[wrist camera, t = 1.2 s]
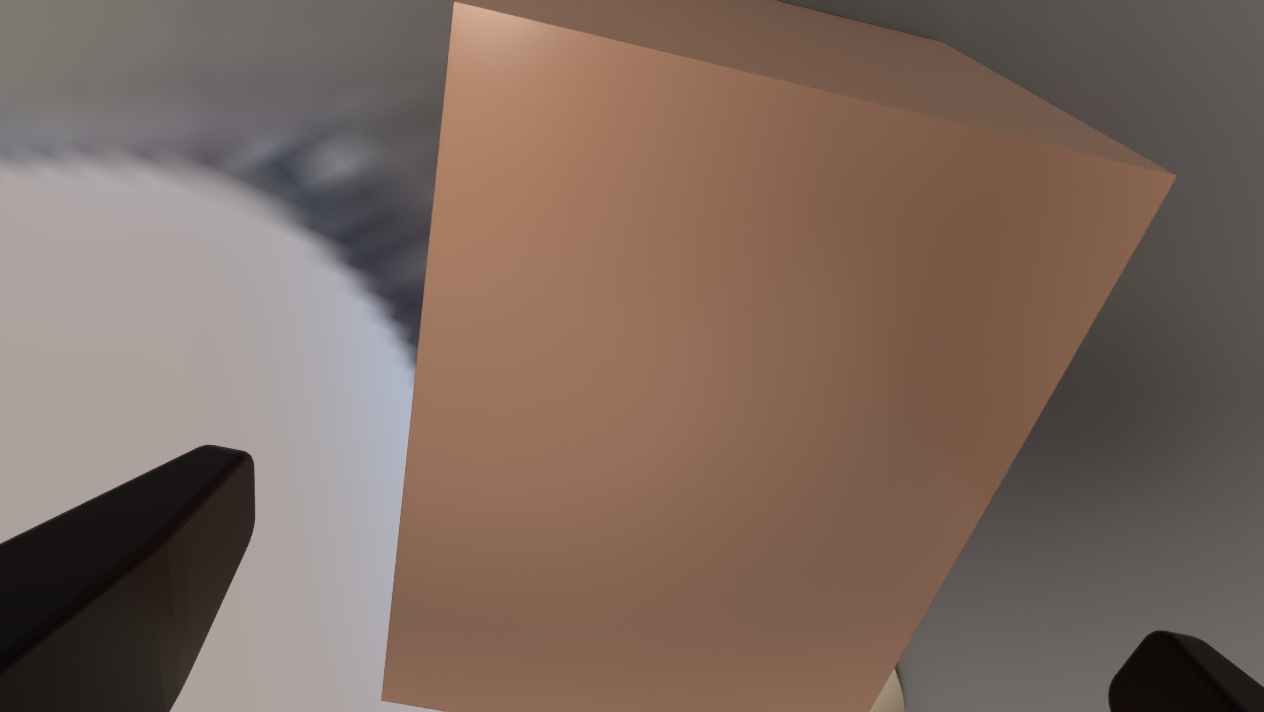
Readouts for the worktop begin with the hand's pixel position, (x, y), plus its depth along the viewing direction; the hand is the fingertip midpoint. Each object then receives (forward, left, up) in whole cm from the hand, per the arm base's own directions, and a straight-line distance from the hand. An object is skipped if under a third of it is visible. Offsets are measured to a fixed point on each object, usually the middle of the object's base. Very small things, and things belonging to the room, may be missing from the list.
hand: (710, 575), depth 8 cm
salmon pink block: (0, 0, -8) cm, 8 cm away
